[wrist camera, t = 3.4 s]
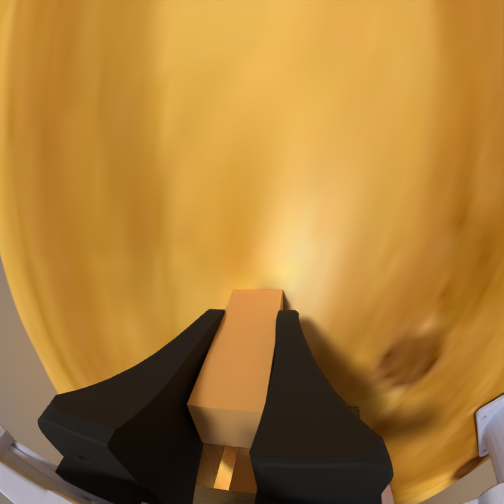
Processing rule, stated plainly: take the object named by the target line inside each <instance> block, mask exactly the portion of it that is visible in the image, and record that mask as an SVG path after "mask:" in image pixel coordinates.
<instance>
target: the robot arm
mask: <svg viewBox="0 0 504 504" xmlns="http://www.w3.org/2000/svg"><path fill="white" fill-rule="evenodd" d="M224 314H225V310H219V309H209V310H208V311H206V312H205V313H204V314H203V315H202V316H200V317H199V318H198V319H197V320H196V321H195V322H194V323H192V324H191V325H190V326H189V327H188V328H187V329H185V330H184V331H183V332H182V333H181V334H180V335H178V336H177V337H176V338H175V339H173V340H172V341H171V342H169V343H168V344H167V345H165V346H164V347H163V348H161V349H160V350H159V351H157V352H156V353H155V354H153V355H152V356H150V357H149V358H147V359H145V360H144V361H142V362H140V363H139V364H137V365H135V366H134V367H132V368H130V369H128V370H126V371H124V372H122V373H120V374H118V375H116V376H114V377H112V378H109V379H107V380H104V381H102V382H99V383H97V384H94V385H91V386H88V387H85V388H82V389H79V390H75V391H71V392H67V393H63V394H59V395H56V396H55V397H54V398H53V400H52V401H51V403H50V404H49V405H48V407H47V408H46V409H45V411H44V412H43V414H42V415H41V416H40V417H39V419H38V426H39V428H40V430H41V431H42V433H43V434H44V435H45V437H46V438H47V439H48V440H49V441H50V442H51V443H52V445H53V446H54V447H55V448H56V449H57V450H58V451H59V452H60V453H61V454H62V455H63V456H64V457H63V459H62V461H61V463H60V464H59V466H58V465H55V464H54V463H52V462H50V461H48V460H47V459H45V458H43V457H41V456H40V455H38V454H36V453H35V452H33V451H31V450H30V449H28V448H26V447H25V446H23V445H22V444H20V443H18V442H17V441H16V440H14V438H13V437H12V435H11V434H10V433H9V432H8V431H7V430H6V429H5V428H4V427H3V426H1V425H0V492H2V493H3V494H4V495H5V496H6V497H7V498H8V499H10V500H11V501H12V502H13V503H14V504H92V503H93V504H193V499H194V492H195V486H196V480H197V475H198V469H199V464H200V459H201V455H202V450H203V445H204V443H203V442H202V440H201V438H200V436H199V433H198V431H197V428H196V426H195V424H194V421H193V419H192V416H191V414H190V411H189V409H188V406H187V403H188V400H189V398H190V395H191V393H192V391H193V388H194V386H195V383H196V381H197V378H198V376H199V373H200V371H201V368H202V366H203V364H204V361H205V359H206V356H207V354H208V351H209V349H210V346H211V344H212V342H213V339H214V337H215V334H216V332H217V330H218V329H219V326H220V324H221V321H222V319H223V316H224ZM476 424H477V434H478V448H479V456H480V457H483V456H485V455H487V454H489V455H490V458H491V461H492V465H493V468H494V472H495V475H496V479H497V483H498V484H496V485H494V486H492V487H491V488H489V489H487V490H486V491H485V492H483V493H482V494H481V495H480V497H479V498H477V499H474V500H471V501H468V502H465V503H462V504H504V394H503V395H502V396H500V397H498V398H497V399H495V400H494V401H492V402H490V403H489V404H487V405H485V406H483V407H482V408H480V409H479V410H478V411H477V412H476ZM249 455H250V459H251V464H252V468H253V472H254V477H255V481H256V485H257V492H256V498H255V503H254V504H382V493H383V491H384V490H385V489H386V487H387V486H388V485H389V483H390V482H391V480H392V478H393V468H392V463H391V460H390V456H389V453H388V451H387V448H386V446H385V444H384V441H383V439H382V438H381V437H380V436H379V435H378V434H377V433H375V432H374V431H373V430H372V429H371V428H369V427H368V426H367V425H366V424H365V423H364V422H363V421H362V420H361V419H360V418H359V417H358V416H357V415H356V414H355V413H354V412H353V411H352V410H351V409H350V408H349V407H348V406H347V405H346V403H345V402H344V401H343V400H342V399H341V398H340V396H339V395H338V394H337V393H336V392H335V390H334V389H333V388H332V386H331V385H330V383H329V382H328V381H327V379H326V378H325V376H324V375H323V373H322V371H321V370H320V368H319V366H318V365H317V363H316V361H315V359H314V357H313V355H312V353H311V351H310V349H309V347H308V345H307V342H306V340H305V338H304V335H303V332H302V329H301V326H300V322H299V313H298V312H297V311H296V310H279V311H278V314H277V318H276V327H275V359H274V367H273V372H272V376H271V381H270V386H269V390H268V394H267V398H266V402H265V405H264V409H263V412H262V416H261V419H260V423H259V425H258V428H257V431H256V434H255V437H254V440H253V443H252V446H251V448H250V451H249Z"/></svg>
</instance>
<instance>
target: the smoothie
mask: <svg viewBox="0 0 504 504" xmlns="http://www.w3.org/2000/svg"><path fill="white" fill-rule="evenodd" d="M382 504H394V500H393V496H392V492H391V487H390V483H389V485H388V486H387V487H386V489H385V490H384V491H383V493H382Z"/></svg>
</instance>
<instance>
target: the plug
mask: <svg viewBox="0 0 504 504" xmlns="http://www.w3.org/2000/svg"><path fill="white" fill-rule="evenodd" d="M279 310H283V290H233V293H232V295H231V298H230V300H229V302H228V305H227V307H226V310H225V314H224V316H223V319H222V321H221V324H220V326H219V329H218V330H217V332H216V334H215V337H214V339H213V342H212V344H211V346H210V349H209V351H208V354H207V356H206V359H205V361H204V364H203V366H202V368H201V371H200V373H199V376H198V378H197V381H196V383H195V386H194V388H193V391H192V393H191V395H190V398H189V400H188V403H187V406H188V409H189V411H190V414H191V416H192V419H193V421H194V424H195V426H196V428H197V431H198V433H199V436H200V438H201V440H202V442H203V443H210V444H217V445H225V446H233V447H239V450H238V454H237V458H236V462H235V466H234V471H233V475H232V479H231V483H230V487H229V491H236V492H244V493H254V494H256V492H257V485H256V481H255V477H254V472H253V468H252V464H251V459H250V455H249V451H250V448H251V446H252V443H253V440H254V437H255V434H256V431H257V428H258V425H259V423H260V419H261V416H262V412H263V409H264V405H265V402H266V398H267V394H268V390H269V386H270V381H271V376H272V372H273V367H274V359H275V327H276V318H277V314H278V311H279Z"/></svg>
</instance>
